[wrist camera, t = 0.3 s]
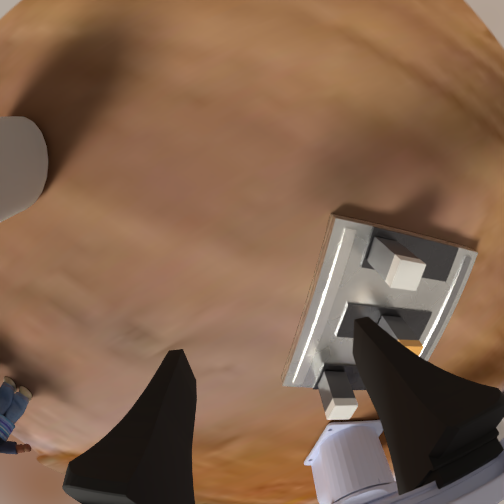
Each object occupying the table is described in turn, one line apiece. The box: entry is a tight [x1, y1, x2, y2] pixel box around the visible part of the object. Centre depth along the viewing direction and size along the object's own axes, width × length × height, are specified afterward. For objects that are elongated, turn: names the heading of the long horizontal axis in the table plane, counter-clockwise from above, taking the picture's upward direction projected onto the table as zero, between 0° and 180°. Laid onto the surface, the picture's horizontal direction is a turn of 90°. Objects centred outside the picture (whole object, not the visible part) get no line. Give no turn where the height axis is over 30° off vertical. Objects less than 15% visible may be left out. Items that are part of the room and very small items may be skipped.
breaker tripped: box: [378, 315, 424, 356], centre depth 21 cm, size 2×2×4 cm
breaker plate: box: [281, 214, 478, 390], centre depth 23 cm, size 15×14×1 cm
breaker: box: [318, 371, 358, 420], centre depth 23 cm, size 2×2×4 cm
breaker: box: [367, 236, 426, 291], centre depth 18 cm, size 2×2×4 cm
